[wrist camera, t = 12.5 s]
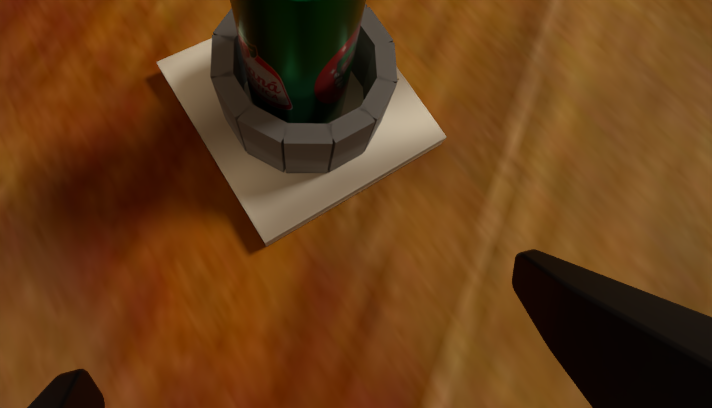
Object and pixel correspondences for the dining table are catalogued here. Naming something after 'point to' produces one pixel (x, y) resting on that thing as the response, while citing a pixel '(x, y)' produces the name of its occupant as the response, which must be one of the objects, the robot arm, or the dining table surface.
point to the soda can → (298, 55)
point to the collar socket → (301, 129)
